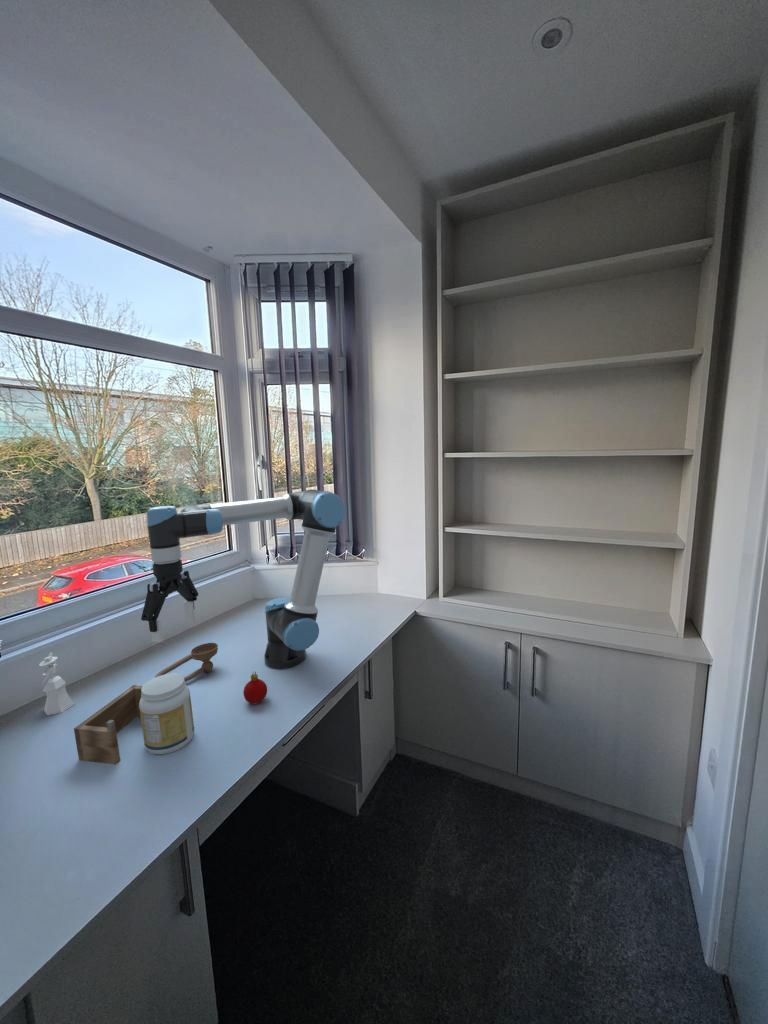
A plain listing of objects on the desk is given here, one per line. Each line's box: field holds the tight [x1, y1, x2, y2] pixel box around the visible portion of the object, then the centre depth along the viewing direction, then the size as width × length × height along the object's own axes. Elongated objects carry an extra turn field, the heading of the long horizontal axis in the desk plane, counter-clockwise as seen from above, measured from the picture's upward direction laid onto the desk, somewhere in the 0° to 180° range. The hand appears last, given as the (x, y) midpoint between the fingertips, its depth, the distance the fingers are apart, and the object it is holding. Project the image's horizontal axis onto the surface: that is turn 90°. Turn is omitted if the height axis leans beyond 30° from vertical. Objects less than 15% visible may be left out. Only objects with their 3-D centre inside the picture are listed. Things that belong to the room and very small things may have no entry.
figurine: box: [38, 652, 75, 716], centre depth 131 cm, size 7×8×18 cm
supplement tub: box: [139, 673, 195, 755], centre depth 114 cm, size 12×12×17 cm
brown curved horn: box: [153, 642, 219, 683], centre depth 151 cm, size 24×9×19 cm
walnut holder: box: [73, 685, 143, 766], centre depth 117 cm, size 11×20×11 cm, turn 170°
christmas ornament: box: [242, 671, 268, 705], centre depth 131 cm, size 7×7×10 cm
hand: (174, 631), depth 124 cm, fingers open, 13 cm apart
